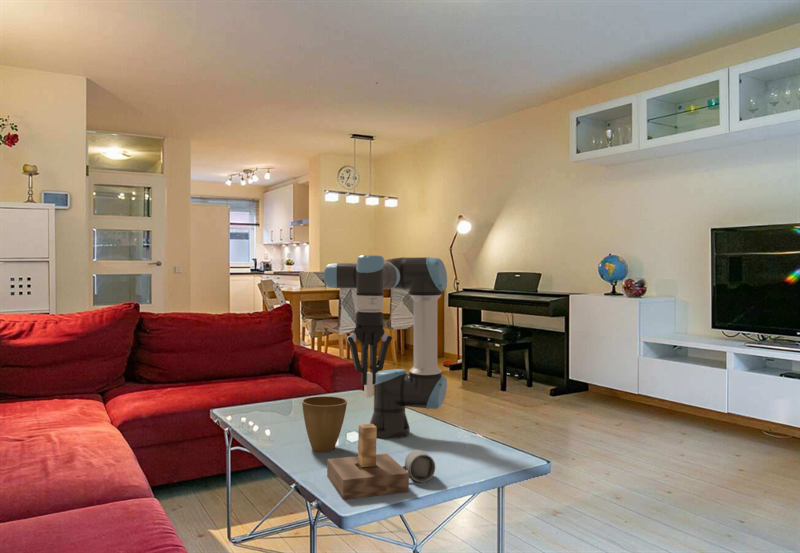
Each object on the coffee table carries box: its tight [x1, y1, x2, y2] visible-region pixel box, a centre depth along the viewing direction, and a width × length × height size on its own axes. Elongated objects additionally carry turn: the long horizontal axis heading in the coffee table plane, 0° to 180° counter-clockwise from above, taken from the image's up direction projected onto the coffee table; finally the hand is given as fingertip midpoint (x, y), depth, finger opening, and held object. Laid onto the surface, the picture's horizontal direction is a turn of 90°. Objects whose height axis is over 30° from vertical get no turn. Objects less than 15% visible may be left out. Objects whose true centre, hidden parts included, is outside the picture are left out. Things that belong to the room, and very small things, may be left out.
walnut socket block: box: [326, 453, 410, 500], centre depth 159 cm, size 18×18×5 cm
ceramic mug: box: [402, 449, 436, 483], centre depth 164 cm, size 11×8×8 cm
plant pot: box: [301, 395, 348, 452], centre depth 191 cm, size 15×15×16 cm
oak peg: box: [357, 423, 378, 470], centre depth 159 cm, size 4×4×15 cm
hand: (368, 396), depth 159 cm, fingers closed
